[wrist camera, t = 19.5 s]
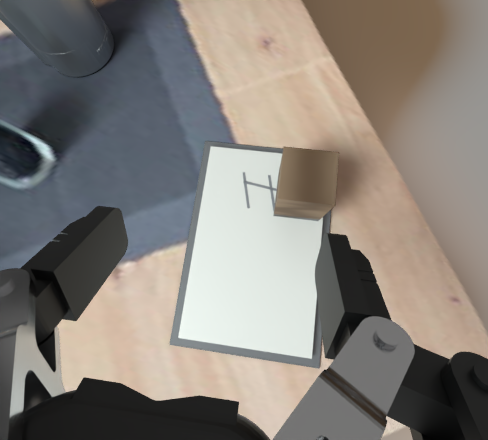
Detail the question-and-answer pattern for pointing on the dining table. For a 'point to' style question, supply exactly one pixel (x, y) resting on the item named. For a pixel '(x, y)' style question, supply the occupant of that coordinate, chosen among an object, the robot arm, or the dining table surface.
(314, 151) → the block
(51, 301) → the robot arm
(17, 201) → the dining table surface
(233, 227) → the board
